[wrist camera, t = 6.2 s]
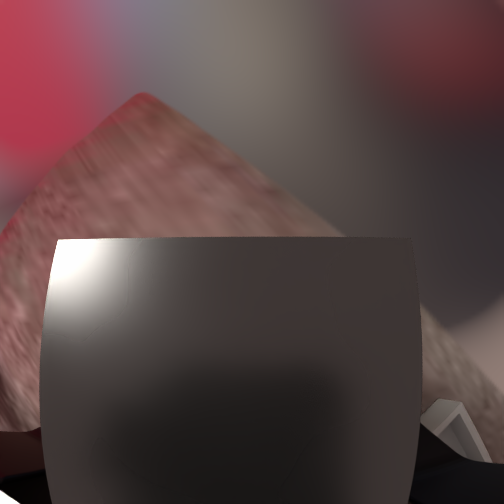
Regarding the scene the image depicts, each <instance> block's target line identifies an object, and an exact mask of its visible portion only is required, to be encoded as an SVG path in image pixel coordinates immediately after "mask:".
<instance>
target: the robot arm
mask: <svg viewBox="0 0 504 504" xmlns="http://www.w3.org/2000/svg"><path fill="white" fill-rule="evenodd" d="M0 504H52V501H51V496H50V491H49V486H48V481H47V475H46V469H45V462H44V455H43V446H42V436H41V427H39V428H37V429H35V430H32V431H28V432H5V431H0ZM408 504H504V464H499V463H489V462H481V461H474V460H471V459H468V458H466V457H463V456H462V455H460V454H458V453H457V452H456V451H454V450H453V449H452V448H451V447H449V446H448V445H447V444H446V443H444V442H443V441H442V440H441V439H440V438H438V437H437V436H436V435H435V434H433V433H432V432H431V431H430V430H429V429H427V428H426V427H425V426H424V425H423V424H422V423H421V422H420V429H419V439H418V447H417V455H416V462H415V468H414V474H413V480H412V485H411V490H410V495H409V499H408Z"/></svg>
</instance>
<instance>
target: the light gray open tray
mask: <svg viewBox="0 0 504 504" xmlns="http://www.w3.org/2000/svg"><path fill="white" fill-rule="evenodd" d="M420 422H421V423H422V424H423V425H424V426H425V427H426V428H427V429H429V430H430V431H431V432H432V433H433V434H435V435H436V436H437V437H438V438H440V439H441V440H442V441H443V442H444V443H446V444H447V445H448V446H449V447H451V448H452V449H453V450H454V451H456V452H457V453H458V454H460V455H462V456H463V457H466V458H468V459H471V460H474V461H481V462H489V463H493V462H492V460H491V458H490V456H489V454H488V452H487V449H486V447H485V445H484V443H483V441H482V439H481V437H480V435H479V433H478V431H477V429H476V428H475V426H474V424H473V422H472V420H471V418H470V416H469V414H468V413H467V411H466V409H465V407H464V405H463V404H462V402H458V401H452V400H446V399H440V398H438V399H437V400H436V401H435V402H434V403H433V404H432V405H431V406H430V407H429V408H428V409H427V410H426V411H425V412H424V413H423V414H422V415H421V417H420Z"/></svg>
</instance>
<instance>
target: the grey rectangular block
mask: <svg viewBox="0 0 504 504" xmlns="http://www.w3.org/2000/svg"><path fill="white" fill-rule="evenodd" d="M39 395H40V423H41V436H42V446H43V455H44V462H45V469H46V475H47V481H48V486H49V491H50V496H51V501H52V504H408V499H409V495H410V490H411V485H412V480H413V474H414V468H415V462H416V455H417V447H418V439H419V429H420V417H421V402H422V331H421V315H420V302H419V293H418V283H417V275H416V267H415V260H414V253H413V247H412V241H411V238H374V237H173V238H115V239H75V240H58V243H57V247H56V251H55V256H54V260H53V265H52V270H51V275H50V280H49V286H48V292H47V298H46V305H45V312H44V321H43V330H42V341H41V355H40V383H39Z"/></svg>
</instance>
